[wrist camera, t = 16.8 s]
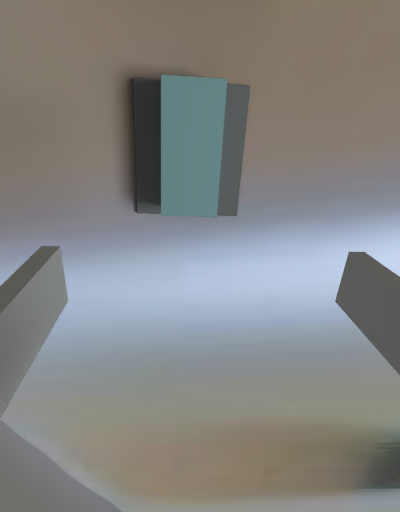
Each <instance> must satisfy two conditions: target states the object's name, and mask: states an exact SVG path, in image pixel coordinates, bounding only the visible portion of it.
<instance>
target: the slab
mask: <svg viewBox="0 0 400 512" xmlns="http://www.w3.org/2000/svg"><path fill="white" fill-rule="evenodd" d="M226 91H227V79H218V78H204V77H190V76H175V75H161V215H165V216H200V217H217V208H218V195H219V182H220V169H221V156H222V143H223V130H224V117H225V104H226Z"/></svg>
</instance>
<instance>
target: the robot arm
mask: <svg viewBox="0 0 400 512" xmlns="http://www.w3.org/2000/svg"><path fill="white" fill-rule="evenodd" d="M67 302H68V297H67V290H66V283H65V276H64V270H63V263H62V256H61V249H60V247H59V246H41V247H40V248H39V249H38V250H37V251H36V252H35V253H34V254H33V255H32V256H31V257H30V258H29V259H28V260H27V261H26V262H25V263H24V264H23V265H22V266H21V267H20V268H19V269H18V270H17V271H16V272H15V273H13V274H12V275H11V276H10V277H9V278H8V279H7V280H6V281H5V282H4V283H3V284H2V285H1V286H0V418H1V416H2V414H3V413H4V411H5V409H6V407H7V406H8V404H9V402H10V401H11V399H12V397H13V395H14V394H15V392H16V390H17V388H18V387H19V385H20V383H21V381H22V380H23V378H24V376H25V375H26V373H27V371H28V369H29V368H30V366H31V364H32V362H33V361H34V359H35V357H36V356H37V354H38V352H39V350H40V349H41V347H42V345H43V343H44V342H45V340H46V338H47V336H48V335H49V333H50V331H51V330H52V328H53V326H54V324H55V323H56V321H57V319H58V317H59V316H60V314H61V312H62V311H63V309H64V307H65V305H66V304H67ZM335 302H336V303H337V304H338V305H339V306H340V307H341V309H342V310H343V311H344V312H345V313H346V314H347V315H348V317H349V318H350V319H351V320H352V321H353V322H354V323H355V325H356V326H357V327H358V328H359V329H360V330H361V331H362V333H363V334H364V335H365V336H366V337H367V338H368V339H369V340H370V342H371V343H372V344H373V345H374V346H375V347H376V348H377V350H378V351H379V352H380V353H381V354H382V355H383V356H384V358H385V359H386V360H387V361H388V362H389V363H390V364H391V366H392V367H393V368H394V369H395V370H396V371H397V372H398V374H399V375H400V277H399V276H398V275H396V274H395V273H393V272H392V271H390V270H389V269H388V268H386V267H385V266H383V265H382V264H381V263H379V262H378V261H376V260H375V259H373V258H372V257H371V256H369V255H368V254H366V253H365V252H349V254H348V257H347V261H346V265H345V268H344V272H343V275H342V279H341V283H340V286H339V290H338V293H337V297H336V301H335Z"/></svg>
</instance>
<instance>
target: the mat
mask: <svg viewBox="0 0 400 512" xmlns="http://www.w3.org/2000/svg"><path fill="white" fill-rule="evenodd" d="M249 92H250V86H246V85H231V84H227V91H226V104H225V117H224V130H223V143H222V156H221V169H220V182H219V195H218V208H217V215H218V216H237V208H238V198H239V189H240V179H241V169H242V160H243V150H244V140H245V131H246V121H247V111H248V102H249ZM133 95H134V127H135V158H136V190H137V213H150V214H161V80H159V79H144V78H133Z"/></svg>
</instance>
